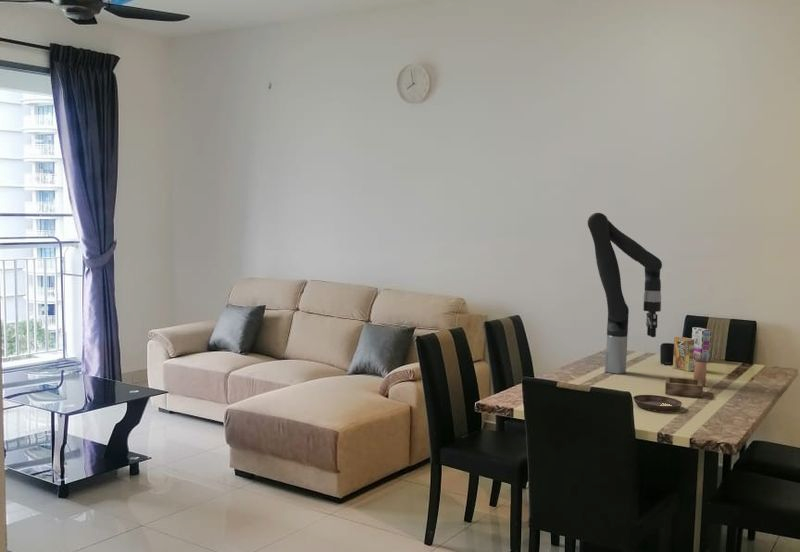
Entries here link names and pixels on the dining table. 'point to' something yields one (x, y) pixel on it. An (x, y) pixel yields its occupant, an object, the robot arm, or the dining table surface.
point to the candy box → (683, 353)
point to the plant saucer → (657, 402)
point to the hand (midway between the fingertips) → (651, 336)
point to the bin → (684, 387)
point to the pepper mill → (700, 369)
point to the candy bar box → (701, 342)
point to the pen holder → (666, 353)
